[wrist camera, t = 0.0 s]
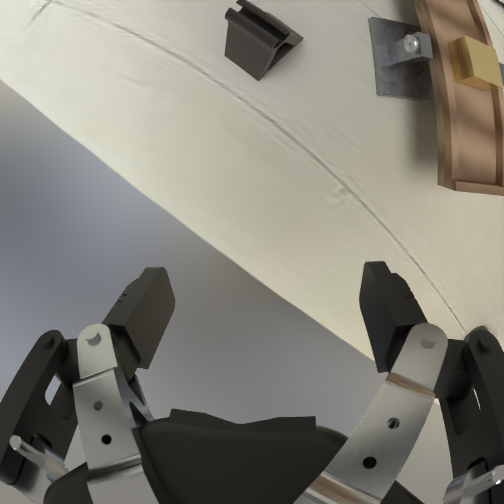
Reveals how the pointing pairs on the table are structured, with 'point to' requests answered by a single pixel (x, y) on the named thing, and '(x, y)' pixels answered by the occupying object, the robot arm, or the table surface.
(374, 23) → the pivot stand
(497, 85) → the brass block
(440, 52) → the beam
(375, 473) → the robot arm
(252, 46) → the phone stand
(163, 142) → the table surface
